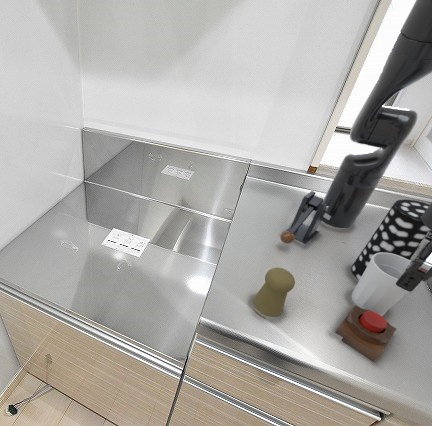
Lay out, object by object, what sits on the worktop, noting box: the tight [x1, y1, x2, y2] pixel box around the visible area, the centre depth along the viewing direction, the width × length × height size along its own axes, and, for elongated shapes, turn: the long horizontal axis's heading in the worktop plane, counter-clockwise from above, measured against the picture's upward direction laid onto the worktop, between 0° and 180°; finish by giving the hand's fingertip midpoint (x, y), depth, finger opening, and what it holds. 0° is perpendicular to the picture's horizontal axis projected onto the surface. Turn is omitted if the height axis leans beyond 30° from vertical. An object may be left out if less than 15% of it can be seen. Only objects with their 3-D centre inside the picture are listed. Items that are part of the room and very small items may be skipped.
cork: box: [252, 267, 296, 320], centre depth 61 cm, size 6×6×11 cm
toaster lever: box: [279, 195, 324, 245], centre depth 75 cm, size 15×3×3 cm, turn 128°
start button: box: [359, 311, 388, 333], centre depth 56 cm, size 4×4×2 cm
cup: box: [351, 252, 423, 317], centre depth 60 cm, size 8×8×12 cm
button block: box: [334, 304, 397, 363], centre depth 57 cm, size 9×7×4 cm
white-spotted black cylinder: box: [350, 199, 430, 281], centre depth 64 cm, size 8×8×20 cm
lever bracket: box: [285, 190, 332, 245], centre depth 79 cm, size 8×6×13 cm
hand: (403, 286), depth 50 cm, fingers closed
